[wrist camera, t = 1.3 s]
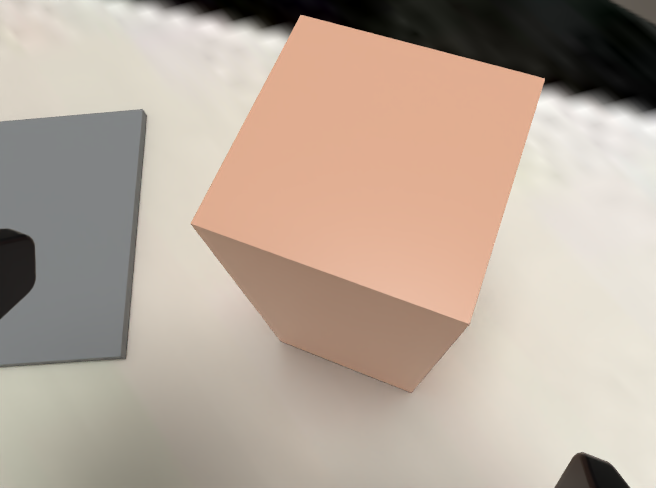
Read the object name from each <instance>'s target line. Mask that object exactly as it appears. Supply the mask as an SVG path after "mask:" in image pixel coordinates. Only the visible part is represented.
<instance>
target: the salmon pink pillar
mask: <svg viewBox="0 0 656 488" xmlns="http://www.w3.org/2000/svg"><path fill="white" fill-rule="evenodd" d="M544 80H545V79H544V78H540V77H537V76H533V75H529V74H525V73H521V72H518V71H514V70H510V69H506V68H502V67H498V66H495V65H491V64H487V63H483V62H479V61H475V60H472V59H468V58H464V57H460V56H456V55H452V54H449V53H445V52H441V51H437V50H433V49H430V48H426V47H422V46H418V45H414V44H410V43H407V42H403V41H399V40H395V39H391V38H387V37H384V36H380V35H376V34H372V33H368V32H364V31H361V30H357V29H353V28H349V27H345V26H342V25H338V24H334V23H330V22H326V21H322V20H319V19H315V18H311V17H307V16H303V15H300V17H299V19H298V21H297V23H296V25H295V27H294V29H293V31H292V32H291V34H290V36H289V38H288V40H287V42H286V44H285V46H284V48H283V50H282V51H281V53H280V55H279V57H278V59H277V61H276V63H275V65H274V67H273V68H272V70H271V72H270V74H269V76H268V78H267V80H266V82H265V84H264V86H263V87H262V89H261V91H260V93H259V95H258V97H257V99H256V101H255V103H254V104H253V106H252V108H251V110H250V112H249V114H248V116H247V118H246V120H245V121H244V123H243V125H242V127H241V129H240V131H239V133H238V135H237V137H236V139H235V140H234V142H233V144H232V146H231V148H230V150H229V152H228V154H227V156H226V157H225V159H224V161H223V163H222V165H221V167H220V169H219V171H218V173H217V175H216V176H215V178H214V180H213V182H212V184H211V186H210V188H209V190H208V192H207V193H206V195H205V197H204V199H203V201H202V203H201V205H200V207H199V209H198V211H197V212H196V214H195V216H194V218H193V220H192V222H191V225H192V226H193V227H194V229H195V230H196V231H197V233H198V234H199V235H200V237H201V238H202V239H203V240H204V242H205V243H206V244H207V246H208V247H209V248H210V250H211V251H212V252H213V254H214V255H215V256H216V257H217V259H218V260H219V261H220V263H221V264H222V265H223V267H224V268H225V269H226V271H227V272H228V273H229V274H230V276H231V277H232V278H233V280H234V281H235V282H236V284H237V285H238V286H239V288H240V289H241V290H242V291H243V293H244V294H245V295H246V297H247V298H248V299H249V301H250V302H251V303H252V304H253V306H254V307H255V308H256V310H257V311H258V312H259V314H260V315H261V316H262V318H263V319H264V320H265V321H266V323H267V324H268V325H269V327H270V328H271V329H272V331H273V332H274V333H275V335H276V336H277V337H278V338H279V340H280V341H281V342H284V343H286V344H289V345H291V346H294V347H296V348H299V349H301V350H304V351H306V352H309V353H312V354H314V355H317V356H319V357H322V358H324V359H327V360H329V361H332V362H334V363H337V364H339V365H342V366H344V367H347V368H350V369H352V370H355V371H357V372H360V373H362V374H365V375H367V376H370V377H372V378H375V379H377V380H380V381H382V382H385V383H388V384H390V385H393V386H395V387H398V388H400V389H403V390H405V391H408V392H410V393H412V392H413V390H414V389H415V388H416V387H417V386H418V385H419V383H420V382H421V381H422V380H423V379H424V377H425V376H426V375H427V374H428V373H429V371H430V370H431V369H432V368H433V367H434V366H435V364H436V363H437V362H438V361H439V360H440V358H441V357H442V356H443V355H444V354H445V353H446V351H447V350H448V349H449V348H450V347H451V345H452V344H453V343H454V342H455V341H456V340H457V338H458V337H459V336H460V335H461V334H462V332H463V331H464V330H465V329H466V328H467V326H468V325H469V324H470V321H471V318H472V314H473V311H474V308H475V305H476V301H477V298H478V295H479V292H480V288H481V285H482V282H483V279H484V275H485V272H486V269H487V266H488V262H489V259H490V256H491V253H492V249H493V246H494V243H495V240H496V236H497V233H498V230H499V227H500V223H501V220H502V217H503V214H504V210H505V207H506V204H507V201H508V197H509V194H510V191H511V188H512V184H513V181H514V178H515V175H516V171H517V168H518V165H519V162H520V158H521V155H522V152H523V149H524V145H525V142H526V139H527V136H528V132H529V129H530V126H531V123H532V119H533V116H534V113H535V110H536V106H537V103H538V100H539V97H540V93H541V90H542V87H543V84H544Z"/></svg>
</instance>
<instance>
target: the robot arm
mask: <svg viewBox="0 0 656 488" xmlns="http://www.w3.org/2000/svg"><path fill="white" fill-rule="evenodd" d="M35 281H36V254H35V243H34V241H33V239H32V238H31V237H30V236H29V235H26V234H24V233H21V232H19V231H16V230H13V229H9V228H3V229H0V319H2V318H3V317H4V316H5V315H6V314H7V313H8V312H9V311H10V310H11V309H12V308H13V307H14V306H15V305H17V304H18V303H19V302H20V301H21V300H22V299H23V298H24V297H25V296H26V295H27V294H28V293H29V292H30V291H31V290H32V288H33V287H34V284H35ZM555 488H630V487H629V486H628V484H627V483H626V482H625V480H624V479H623V478H622V477H621V475H620V474H619V473H618V471H617V470H616V469H615V468H614V467H613V465H612V464H610V463H609V462H607V461H604V460H602V459H599V458H597V457H594V456H592V455H589V454H586V453H584V452H581V453H577V454H576V455H575V456H574V457H573V458H572V459H571V461H570V463H569V464H568V466H567V468H566V469H565V471H564V473H563V474H562V476H561V478H560V479H559V481H558V483H557V484H556V486H555Z"/></svg>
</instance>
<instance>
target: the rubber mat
mask: <svg viewBox="0 0 656 488" xmlns="http://www.w3.org/2000/svg"><path fill="white" fill-rule="evenodd" d="M146 117H147V115H146V114H145V112H144V111H143V109H140V110H128V111H117V112H105V113H94V114H82V115H71V116H59V117H48V118H36V119H25V120H13V121H2V122H0V229H3V228H9V229H13V230H16V231H19V232H21V233H24V234H26V235H29V236H30V237H31V238H32V239H33V241H34V243H35V254H36V281H35V284H34V287H33V288H32V290H31V291H30V292H29V293H28V294H27V295H26V296H25V297H24V298H23V299H22V300H21V301H20V302H19V303H18V304H17V305H15V306H14V307H13V308H12V309H11V310H10V311H9V312H8V313H7V314H6V315H5V316H4V317H3V318H2V319H0V367H7V366H21V365H36V364H50V363H65V362H80V361H94V360H109V359H123V358H126V348H127V336H128V325H129V313H130V302H131V290H132V278H133V267H134V255H135V244H136V232H137V221H138V209H139V197H140V186H141V174H142V163H143V151H144V140H145V128H146Z"/></svg>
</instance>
